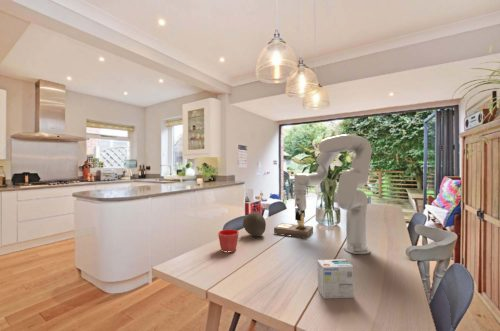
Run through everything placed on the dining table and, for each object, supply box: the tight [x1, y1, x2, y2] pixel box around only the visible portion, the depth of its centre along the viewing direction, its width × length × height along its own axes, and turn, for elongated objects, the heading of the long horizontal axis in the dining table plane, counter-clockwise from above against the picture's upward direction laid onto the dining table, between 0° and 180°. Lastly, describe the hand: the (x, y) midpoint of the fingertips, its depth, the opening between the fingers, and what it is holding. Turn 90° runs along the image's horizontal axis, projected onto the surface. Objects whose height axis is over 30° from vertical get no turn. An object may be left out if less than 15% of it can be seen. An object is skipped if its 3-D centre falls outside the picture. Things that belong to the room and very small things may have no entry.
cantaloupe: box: [242, 212, 267, 237], centre depth 149 cm, size 14×14×15 cm
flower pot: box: [217, 229, 239, 252], centre depth 125 cm, size 11×11×10 cm
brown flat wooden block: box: [273, 222, 314, 239], centre depth 154 cm, size 14×22×4 cm, turn 61°
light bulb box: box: [316, 258, 355, 299], centre depth 81 cm, size 11×7×11 cm, turn 92°
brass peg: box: [296, 212, 305, 230], centre depth 152 cm, size 4×4×14 cm
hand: (300, 218), depth 152 cm, fingers open, 9 cm apart
